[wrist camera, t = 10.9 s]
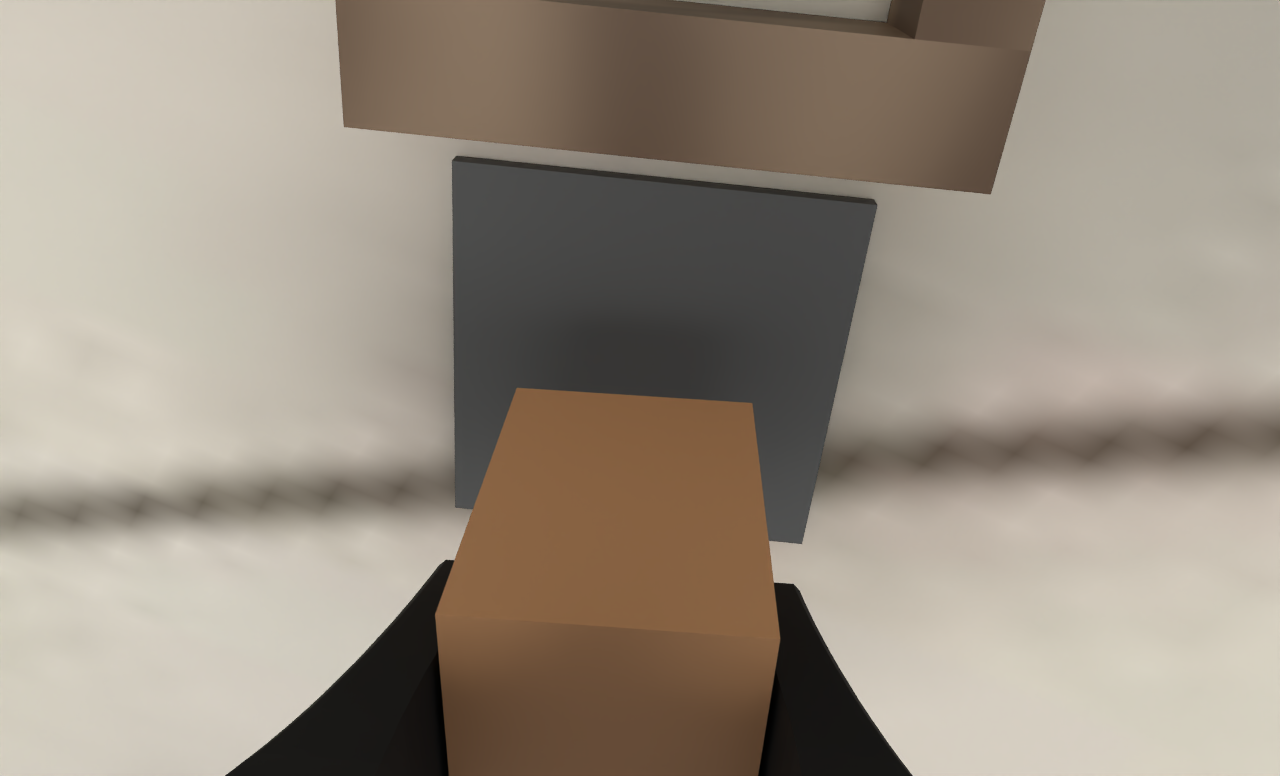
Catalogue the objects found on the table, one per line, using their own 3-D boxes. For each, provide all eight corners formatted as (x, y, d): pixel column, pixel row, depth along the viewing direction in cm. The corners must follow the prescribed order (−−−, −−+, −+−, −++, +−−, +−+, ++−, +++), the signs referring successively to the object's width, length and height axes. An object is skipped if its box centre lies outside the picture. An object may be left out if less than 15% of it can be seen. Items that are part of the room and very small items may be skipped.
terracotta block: (752, 402, 15) (780, 638, 10) (730, 585, 17) (744, 856, 12) (516, 387, 15) (435, 614, 10) (521, 570, 17) (453, 833, 12)
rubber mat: (873, 199, 19) (877, 205, 19) (800, 534, 23) (801, 544, 23) (456, 156, 19) (452, 160, 19) (458, 498, 23) (455, 507, 23)
